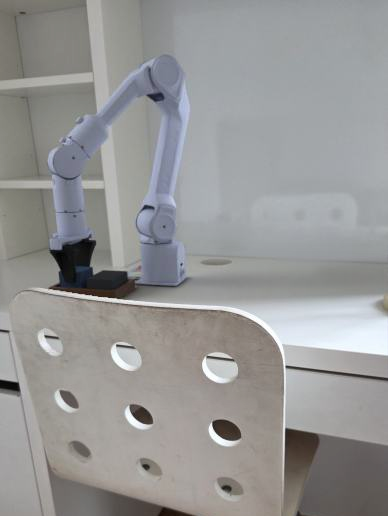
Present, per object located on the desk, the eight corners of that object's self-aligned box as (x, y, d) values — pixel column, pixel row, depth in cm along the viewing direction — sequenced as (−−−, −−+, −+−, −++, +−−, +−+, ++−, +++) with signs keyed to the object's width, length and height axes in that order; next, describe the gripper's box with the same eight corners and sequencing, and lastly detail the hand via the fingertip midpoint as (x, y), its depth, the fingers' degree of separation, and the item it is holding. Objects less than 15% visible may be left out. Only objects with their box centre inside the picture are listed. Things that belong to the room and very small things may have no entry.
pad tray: (135, 288, 111) (134, 278, 110) (116, 301, 102) (115, 291, 101) (73, 285, 115) (72, 275, 114) (49, 297, 106) (48, 287, 105)
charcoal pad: (128, 287, 110) (127, 271, 109) (113, 296, 103) (112, 279, 102) (104, 285, 111) (102, 270, 110) (87, 295, 105) (86, 278, 103)
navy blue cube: (94, 283, 111) (92, 266, 109) (82, 290, 106) (80, 272, 105) (72, 282, 112) (71, 265, 111) (60, 288, 107) (58, 271, 106)
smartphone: (122, 275, 119) (144, 261, 132) (122, 279, 119) (145, 265, 133) (153, 276, 117) (172, 262, 130) (153, 280, 117) (173, 265, 131)
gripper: (69, 206, 111) (76, 270, 116) (32, 215, 98) (41, 286, 103) (100, 207, 109) (105, 271, 114) (65, 216, 96) (73, 288, 101)
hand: (77, 278), depth 108 cm, fingers closed on navy blue cube, 5 cm apart
